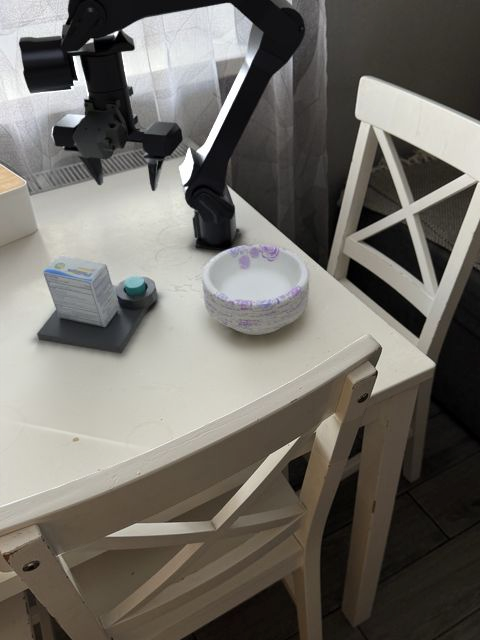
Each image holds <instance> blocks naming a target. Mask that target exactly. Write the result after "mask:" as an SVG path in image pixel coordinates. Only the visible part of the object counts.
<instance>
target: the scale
mask: <svg viewBox="0 0 480 640" xmlns="http://www.w3.org/2000/svg"><path fill="white" fill-rule="evenodd" d="M139 276H140V277H142V278H143V279H144V281H145V286H146V290H145V292H144V293H142V294H140V295H135V296H132V295H128V294H127V293H126V289H125V285H124V282H125V280H126V279H124V280H122V281H120V282H119V283H118V285H113V284H112V286H113V290H114V293H115V297H116V301H117V304H118V308H119V310H118V311H117V313H116V314H115V315H114V316H113V318H112V319H111V320H110V322H109V323H108V324H107V326H106V327H102V326H97V325H92V324H87V323H83V322H78V321H73V320H69V319H64V318H59V316H58V313H57V310H56V309H55V310H54V311H53V312H52V314H51V315H50V317H49V318H48V319H47V320H46V322H45V323H44V324H43V325H42V327H40V329H39V330H38V331H37V333H36V335H37V337H38V340H41V341H46V342H52V343H58V344H64V345H71V346H76V347H81V348H88V349H92V350H93V349H94V350H100V351H105V352H111V353H116V354H122V353H123V351H124V350H125V348H126V347H127V344H128V343H129V342H130V340H131V338H132V337H133V335H134V333H135V332H136V330H137V329H138V327H139V325H140V324H141V322H142V321H143V319H144V318H145V315H146V314H147V312H148V311H149V309H150V308H151V306H152V305H153V304H154V303H155V301H156V300H157V298H158V291H157V286H156V282H155V281H154V280H152V279H151V278H150V277H148V276H141V275H139Z"/></svg>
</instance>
